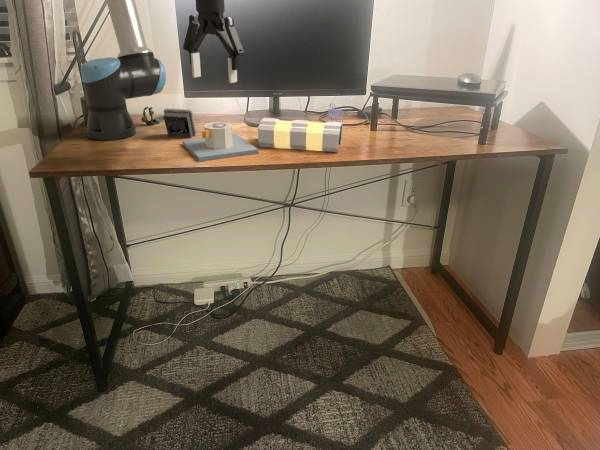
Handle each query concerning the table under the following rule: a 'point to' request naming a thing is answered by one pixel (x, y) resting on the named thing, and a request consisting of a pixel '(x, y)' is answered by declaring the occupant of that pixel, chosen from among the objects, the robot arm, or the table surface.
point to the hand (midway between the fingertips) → (214, 79)
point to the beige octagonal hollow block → (218, 135)
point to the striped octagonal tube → (302, 133)
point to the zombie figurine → (153, 121)
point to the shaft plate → (204, 153)
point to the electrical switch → (179, 123)
